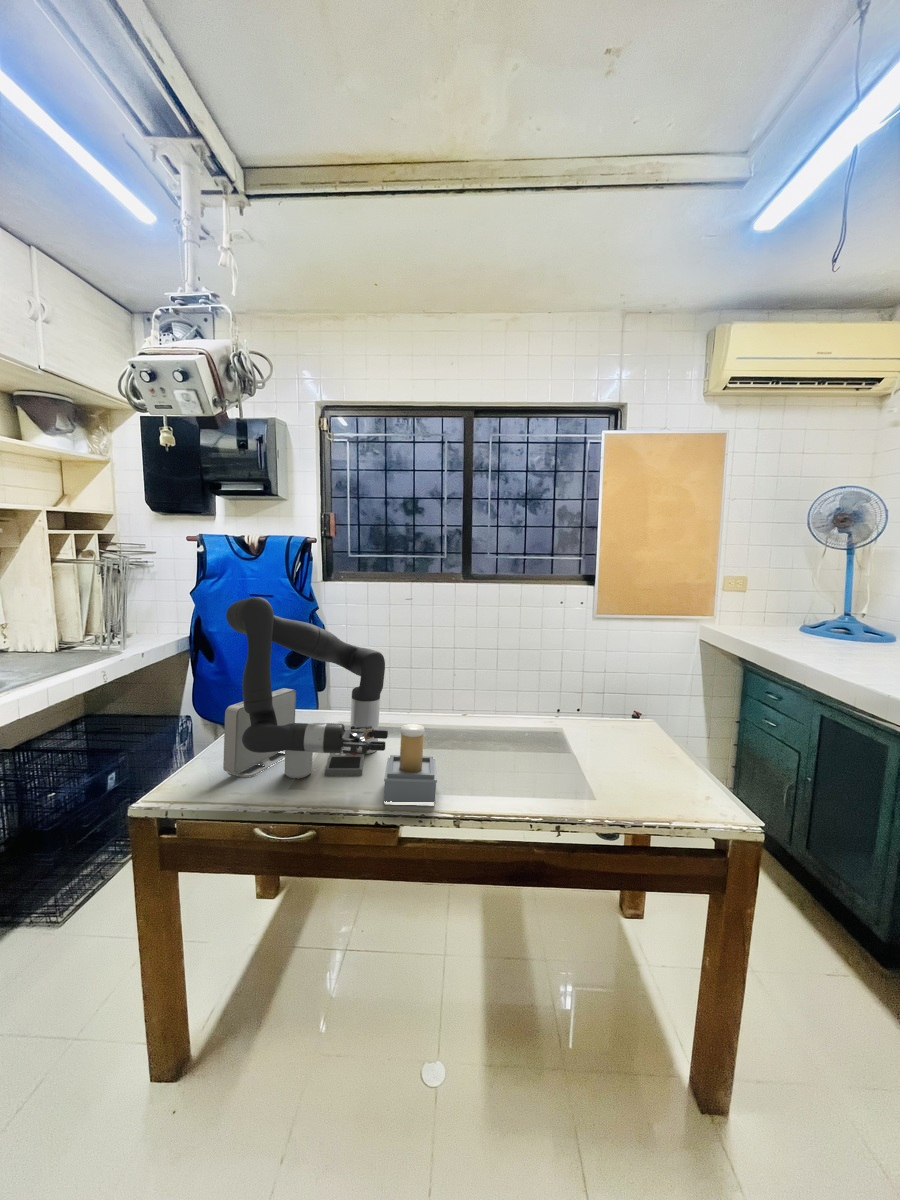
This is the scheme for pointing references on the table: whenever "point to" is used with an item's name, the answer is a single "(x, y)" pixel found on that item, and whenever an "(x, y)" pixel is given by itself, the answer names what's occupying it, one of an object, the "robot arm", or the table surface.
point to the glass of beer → (411, 748)
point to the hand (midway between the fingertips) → (386, 740)
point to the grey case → (410, 781)
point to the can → (298, 763)
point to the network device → (239, 721)
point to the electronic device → (344, 764)
